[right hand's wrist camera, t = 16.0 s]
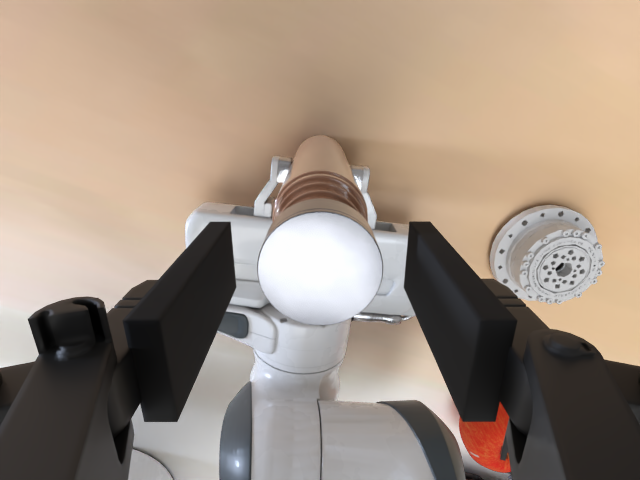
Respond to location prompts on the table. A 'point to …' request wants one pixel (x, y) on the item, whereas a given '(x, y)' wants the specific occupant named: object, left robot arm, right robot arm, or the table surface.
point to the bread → (475, 477)
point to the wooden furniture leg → (320, 177)
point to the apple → (487, 441)
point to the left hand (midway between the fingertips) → (320, 162)
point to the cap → (320, 263)
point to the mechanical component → (547, 254)
